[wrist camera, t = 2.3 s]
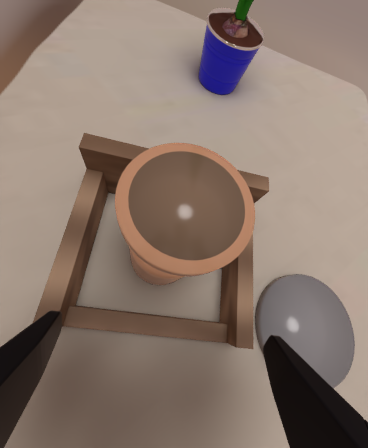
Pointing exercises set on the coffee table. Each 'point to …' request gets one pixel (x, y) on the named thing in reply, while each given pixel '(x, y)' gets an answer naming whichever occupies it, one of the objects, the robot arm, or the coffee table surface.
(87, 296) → the coffee table surface
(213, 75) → the hyacinth
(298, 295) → the saucer
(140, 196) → the pot
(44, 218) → the coffee table surface
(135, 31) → the coffee table surface
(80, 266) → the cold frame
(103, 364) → the coffee table surface
